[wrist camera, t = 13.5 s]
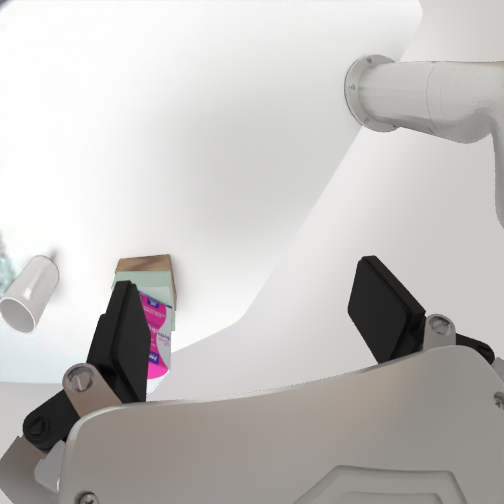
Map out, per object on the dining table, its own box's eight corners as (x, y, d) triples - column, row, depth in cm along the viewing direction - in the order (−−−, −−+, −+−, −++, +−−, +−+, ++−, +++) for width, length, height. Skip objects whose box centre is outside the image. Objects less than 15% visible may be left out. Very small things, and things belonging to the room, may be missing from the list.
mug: (51, 294, 41) (28, 341, 31) (24, 272, 38) (-5, 315, 28) (75, 257, 39) (48, 304, 29) (44, 232, 36) (9, 273, 26)
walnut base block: (169, 253, 43) (167, 267, 39) (176, 295, 47) (176, 310, 43) (120, 258, 41) (114, 272, 38) (131, 299, 45) (127, 314, 42)
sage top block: (170, 270, 40) (169, 286, 36) (175, 313, 43) (174, 330, 40) (116, 271, 38) (111, 287, 35) (126, 314, 42) (122, 331, 38)
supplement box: (173, 305, 38) (172, 371, 28) (155, 331, 39) (150, 396, 30) (136, 286, 35) (122, 352, 25) (119, 315, 37) (106, 379, 27)
